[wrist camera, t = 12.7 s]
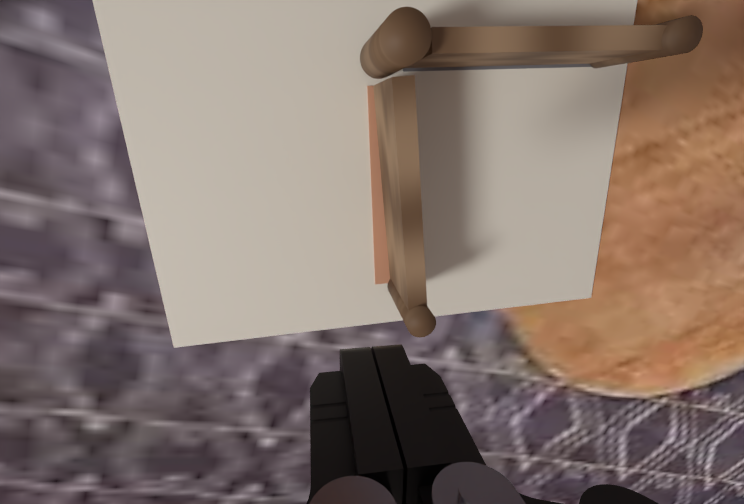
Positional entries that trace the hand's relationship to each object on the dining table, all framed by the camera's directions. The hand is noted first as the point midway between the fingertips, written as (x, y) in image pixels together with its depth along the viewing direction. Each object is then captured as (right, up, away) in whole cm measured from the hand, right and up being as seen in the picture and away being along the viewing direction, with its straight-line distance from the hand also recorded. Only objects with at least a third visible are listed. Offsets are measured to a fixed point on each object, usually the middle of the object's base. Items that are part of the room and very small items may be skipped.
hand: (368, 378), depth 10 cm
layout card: (+2, +9, +18) cm, 20 cm away
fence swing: (+1, +7, +18) cm, 19 cm away
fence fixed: (+8, +16, +17) cm, 25 cm away
